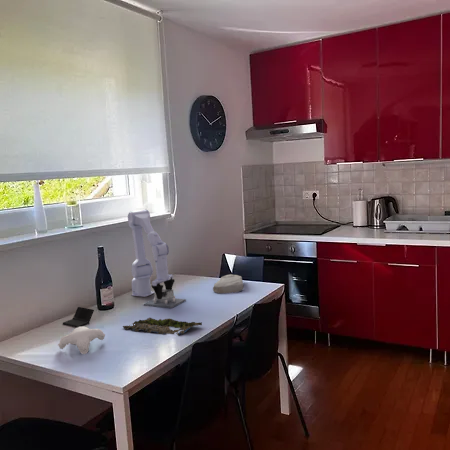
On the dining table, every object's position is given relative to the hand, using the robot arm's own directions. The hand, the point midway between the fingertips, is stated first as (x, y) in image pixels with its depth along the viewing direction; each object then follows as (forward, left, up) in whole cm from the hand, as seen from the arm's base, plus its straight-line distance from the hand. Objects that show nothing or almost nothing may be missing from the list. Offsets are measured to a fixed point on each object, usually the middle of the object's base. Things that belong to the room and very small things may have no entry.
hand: (164, 296), depth 225 cm
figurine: (+2, -56, -4) cm, 56 cm away
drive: (0, 0, -2) cm, 2 cm away
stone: (+19, +33, -4) cm, 39 cm away
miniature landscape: (+20, -30, -4) cm, 36 cm away
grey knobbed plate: (0, 0, -3) cm, 3 cm away
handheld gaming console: (-21, -35, -4) cm, 41 cm away
